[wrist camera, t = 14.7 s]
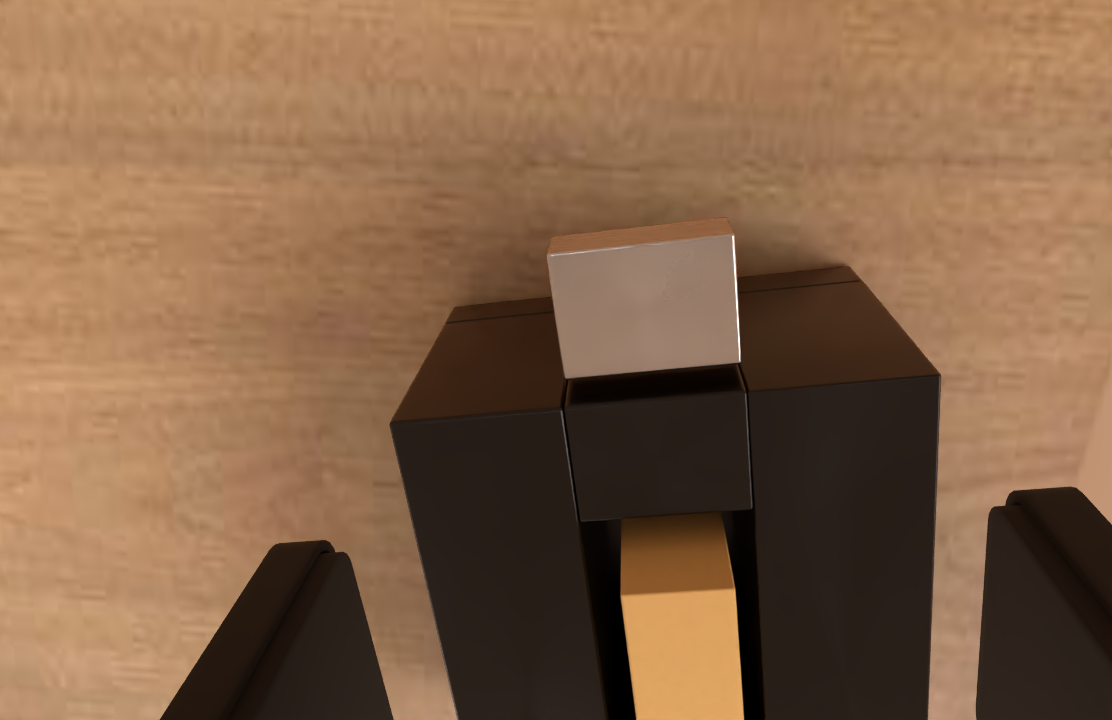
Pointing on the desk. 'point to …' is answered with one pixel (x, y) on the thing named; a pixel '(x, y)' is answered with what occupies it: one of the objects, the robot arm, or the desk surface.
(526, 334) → the toaster
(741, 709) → the toast
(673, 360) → the lever
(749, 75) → the desk surface
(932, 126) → the desk surface
